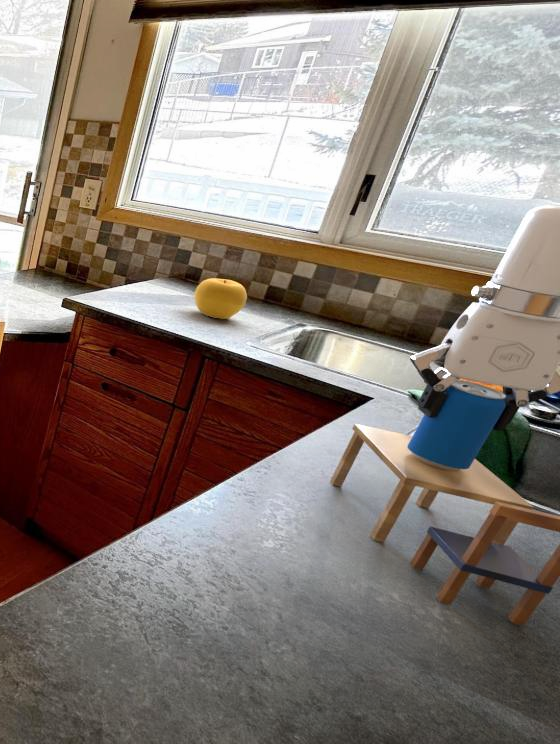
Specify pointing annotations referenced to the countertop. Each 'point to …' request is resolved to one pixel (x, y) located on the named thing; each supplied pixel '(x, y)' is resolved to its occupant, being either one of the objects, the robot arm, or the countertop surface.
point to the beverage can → (458, 426)
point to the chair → (494, 558)
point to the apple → (220, 298)
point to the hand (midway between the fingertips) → (459, 419)
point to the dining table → (424, 479)
